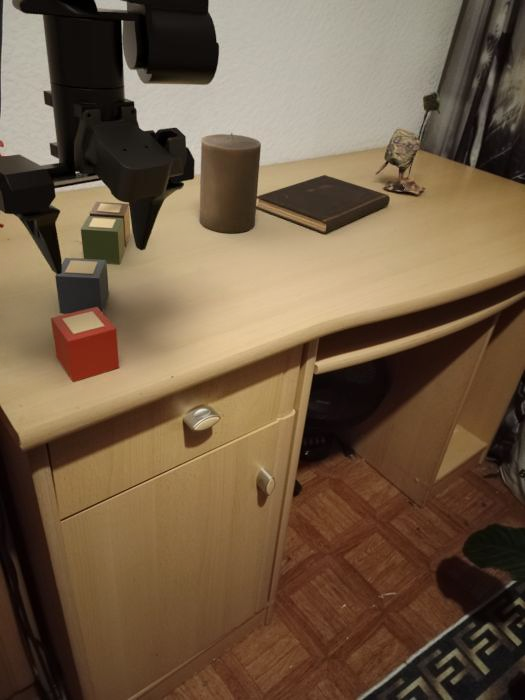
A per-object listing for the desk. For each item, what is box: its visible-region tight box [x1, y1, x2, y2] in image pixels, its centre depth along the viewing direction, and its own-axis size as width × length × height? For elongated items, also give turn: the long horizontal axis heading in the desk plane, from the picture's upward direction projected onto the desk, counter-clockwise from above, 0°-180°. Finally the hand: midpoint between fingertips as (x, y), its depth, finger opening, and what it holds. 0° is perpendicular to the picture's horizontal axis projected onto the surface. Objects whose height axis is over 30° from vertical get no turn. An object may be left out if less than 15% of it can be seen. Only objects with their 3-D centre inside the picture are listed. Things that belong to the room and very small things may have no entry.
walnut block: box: [89, 201, 131, 248], centre depth 83 cm, size 5×5×5 cm
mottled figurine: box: [374, 91, 441, 195], centre depth 114 cm, size 8×11×20 cm
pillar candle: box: [199, 132, 262, 234], centre depth 90 cm, size 10×10×15 cm
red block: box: [50, 307, 120, 383], centre depth 56 cm, size 5×5×5 cm
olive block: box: [80, 215, 126, 265], centre depth 78 cm, size 5×5×5 cm
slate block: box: [55, 257, 110, 314], centre depth 66 cm, size 5×5×5 cm
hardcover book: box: [256, 174, 391, 235], centre depth 105 cm, size 16×23×2 cm
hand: (101, 260), depth 52 cm, fingers open, 9 cm apart
